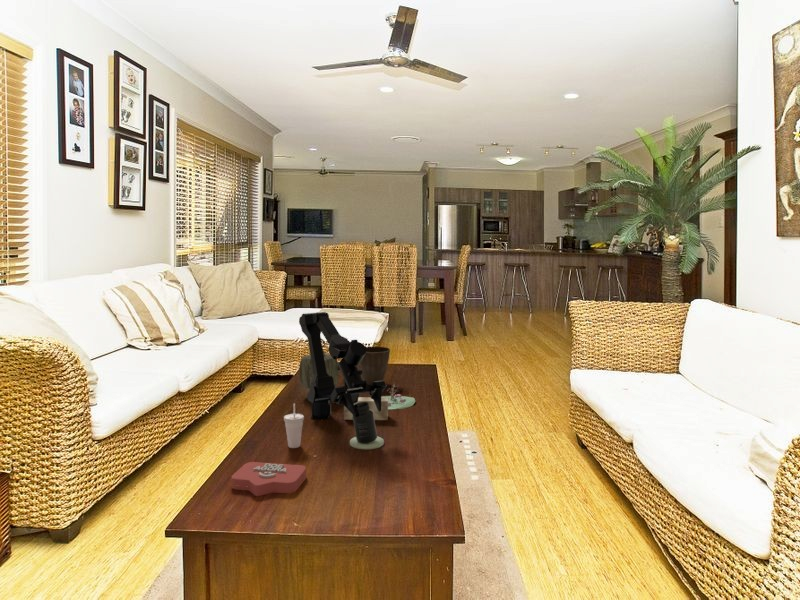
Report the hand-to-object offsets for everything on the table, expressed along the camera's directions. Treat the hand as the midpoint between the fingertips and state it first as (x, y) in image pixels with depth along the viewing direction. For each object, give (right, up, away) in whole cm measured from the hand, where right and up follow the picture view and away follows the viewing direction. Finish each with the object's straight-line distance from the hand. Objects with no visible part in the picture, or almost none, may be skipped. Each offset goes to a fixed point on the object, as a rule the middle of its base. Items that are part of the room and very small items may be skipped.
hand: (368, 413), depth 185 cm
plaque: (-25, -14, -30) cm, 41 cm away
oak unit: (-2, -7, +29) cm, 30 cm away
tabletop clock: (-24, -4, +57) cm, 62 cm away
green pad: (0, -10, +2) cm, 10 cm away
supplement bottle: (0, -9, +1) cm, 9 cm away
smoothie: (-23, -10, -1) cm, 26 cm away
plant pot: (-2, -2, +79) cm, 79 cm away
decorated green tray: (+4, -6, +49) cm, 50 cm away
